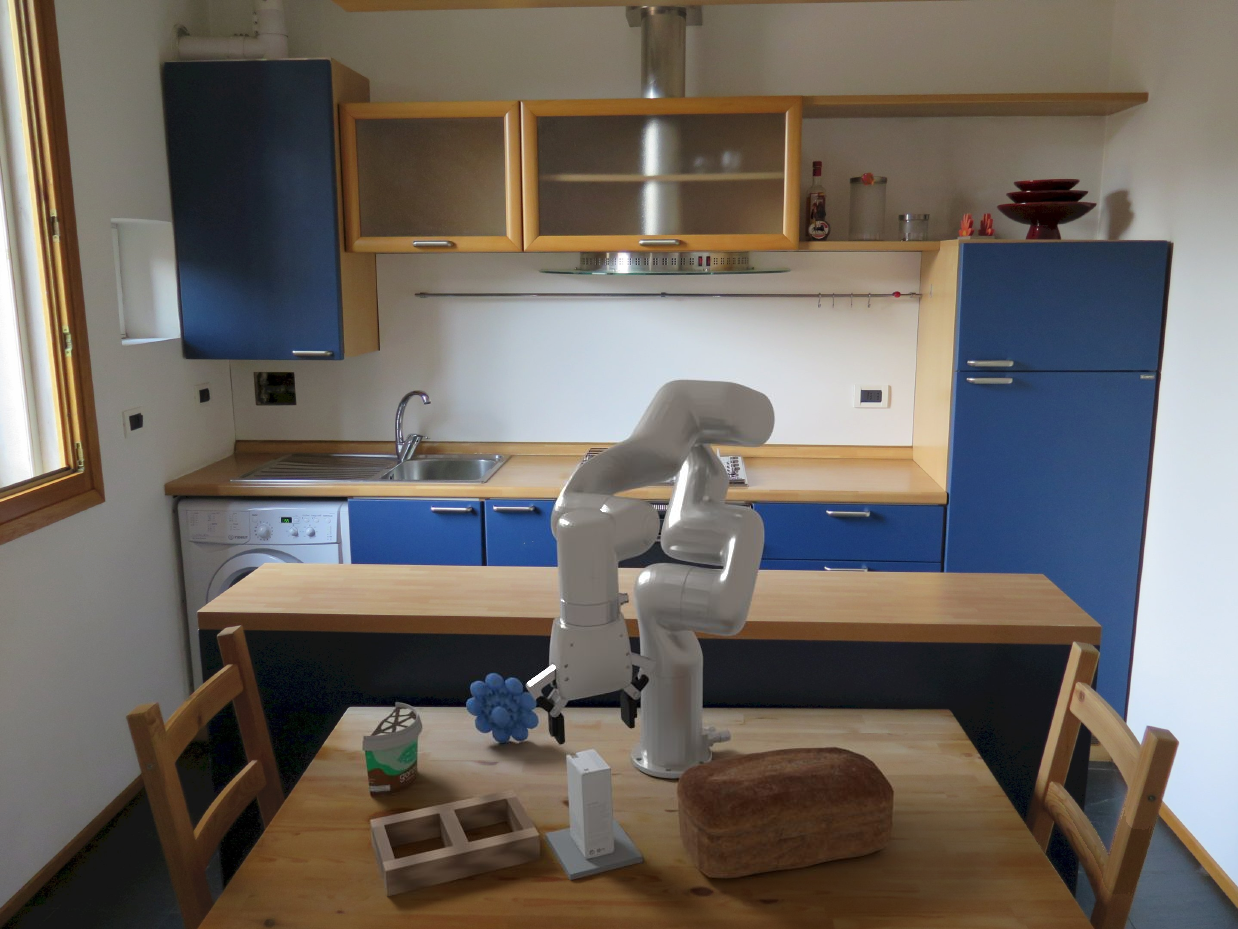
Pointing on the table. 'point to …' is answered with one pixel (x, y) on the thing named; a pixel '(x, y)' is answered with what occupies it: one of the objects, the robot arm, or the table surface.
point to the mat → (583, 867)
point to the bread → (783, 810)
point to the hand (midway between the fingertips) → (593, 731)
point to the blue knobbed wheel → (502, 708)
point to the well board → (453, 841)
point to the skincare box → (590, 803)
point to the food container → (393, 751)
